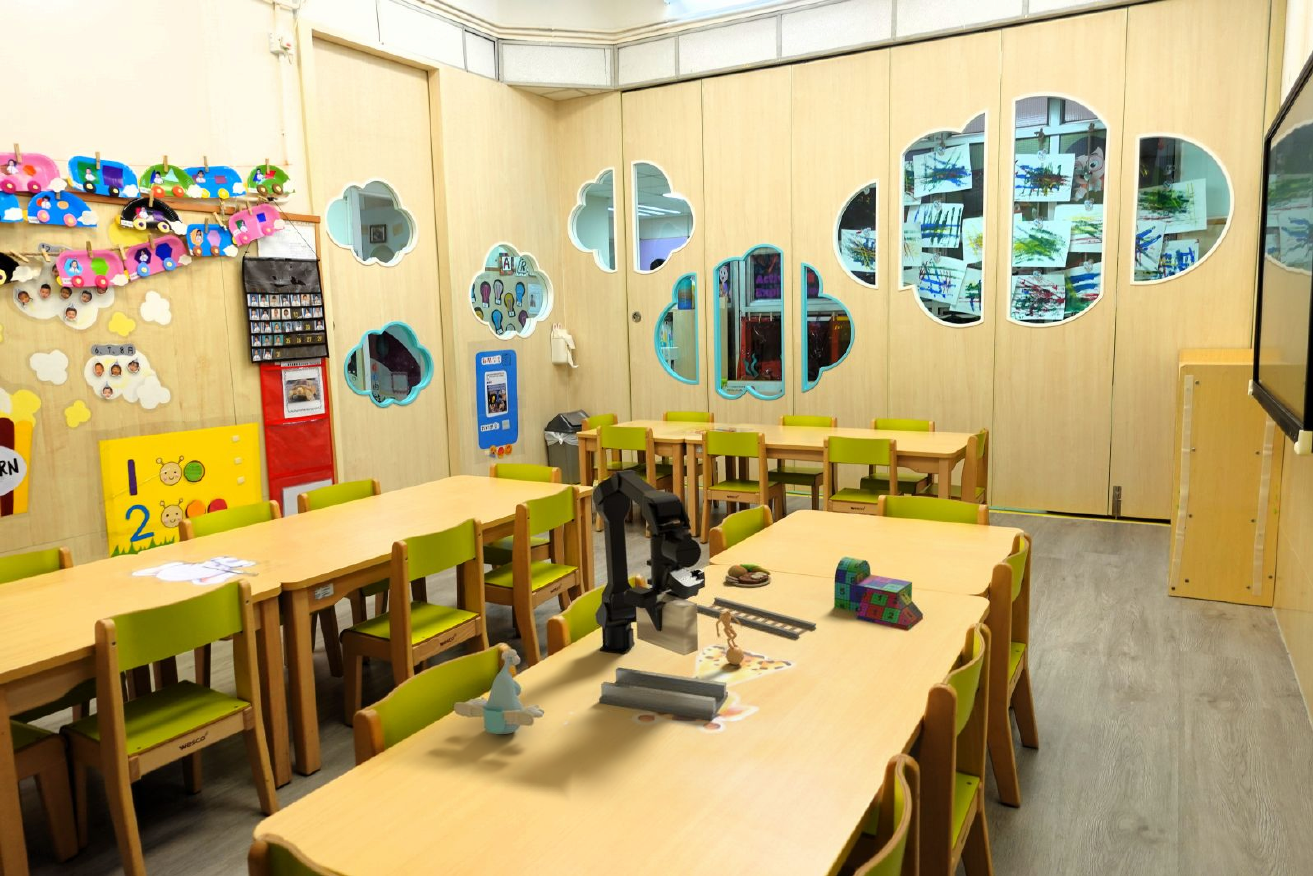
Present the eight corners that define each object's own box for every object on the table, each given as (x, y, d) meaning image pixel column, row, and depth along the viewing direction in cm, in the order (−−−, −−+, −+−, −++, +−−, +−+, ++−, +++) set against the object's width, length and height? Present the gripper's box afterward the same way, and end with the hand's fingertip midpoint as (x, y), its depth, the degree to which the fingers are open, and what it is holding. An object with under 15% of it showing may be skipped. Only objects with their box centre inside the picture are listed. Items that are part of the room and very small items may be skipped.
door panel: (684, 655, 174) (683, 608, 173) (637, 638, 184) (635, 593, 183) (697, 650, 177) (696, 603, 176) (650, 633, 187) (649, 588, 186)
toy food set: (750, 596, 240) (750, 582, 239) (708, 587, 248) (708, 574, 247) (784, 577, 256) (784, 564, 255) (744, 569, 264) (744, 557, 263)
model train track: (793, 643, 206) (793, 635, 206) (693, 614, 227) (693, 607, 227) (819, 629, 215) (819, 621, 214) (719, 602, 235) (719, 595, 235)
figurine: (730, 672, 189) (729, 620, 187) (709, 665, 193) (708, 613, 192) (753, 660, 195) (753, 609, 193) (732, 653, 199) (732, 603, 197)
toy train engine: (826, 613, 225) (826, 566, 223) (850, 597, 236) (851, 553, 235) (908, 630, 211) (909, 581, 210) (929, 612, 223) (931, 566, 221)
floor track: (599, 702, 176) (598, 686, 176) (620, 680, 186) (620, 665, 186) (711, 720, 167) (711, 703, 167) (727, 696, 178) (727, 680, 177)
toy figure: (557, 724, 167) (554, 651, 165) (532, 751, 158) (529, 673, 155) (482, 713, 173) (478, 641, 170) (453, 738, 163) (448, 662, 161)
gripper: (659, 573, 166) (661, 651, 168) (723, 553, 179) (725, 625, 181) (620, 562, 174) (623, 636, 176) (684, 543, 187) (686, 613, 189)
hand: (666, 628), depth 180 cm, fingers closed on door panel, 4 cm apart
